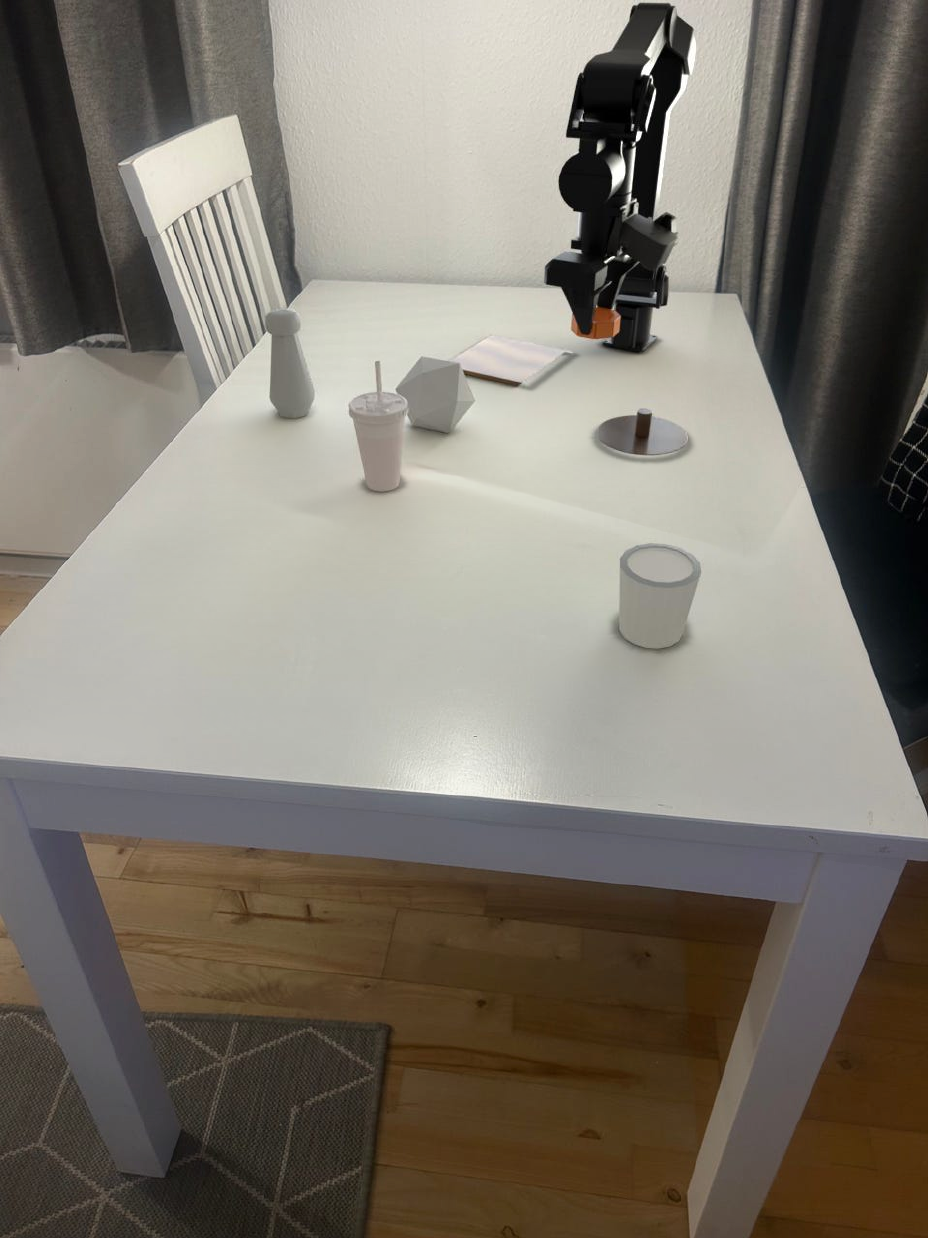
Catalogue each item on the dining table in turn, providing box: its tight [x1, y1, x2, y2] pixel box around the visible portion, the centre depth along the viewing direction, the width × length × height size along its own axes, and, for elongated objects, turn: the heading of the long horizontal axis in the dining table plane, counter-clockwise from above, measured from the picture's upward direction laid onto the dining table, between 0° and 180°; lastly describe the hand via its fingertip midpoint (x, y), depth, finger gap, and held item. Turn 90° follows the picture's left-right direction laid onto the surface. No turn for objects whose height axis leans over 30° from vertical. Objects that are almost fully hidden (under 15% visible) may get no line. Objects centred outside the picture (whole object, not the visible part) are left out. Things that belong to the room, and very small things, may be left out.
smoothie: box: [348, 360, 408, 493], centre depth 99 cm, size 6×6×14 cm
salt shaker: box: [264, 308, 316, 420], centre depth 115 cm, size 6×6×13 cm
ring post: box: [596, 407, 689, 456], centre depth 110 cm, size 11×11×4 cm
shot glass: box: [618, 542, 702, 650], centre depth 79 cm, size 7×7×7 cm
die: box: [395, 356, 476, 434], centre depth 113 cm, size 8×9×10 cm
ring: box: [570, 306, 621, 340], centre depth 112 cm, size 6×6×2 cm
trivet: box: [449, 334, 575, 387], centre depth 132 cm, size 14×14×1 cm
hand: (595, 326), depth 113 cm, fingers closed on ring, 5 cm apart
